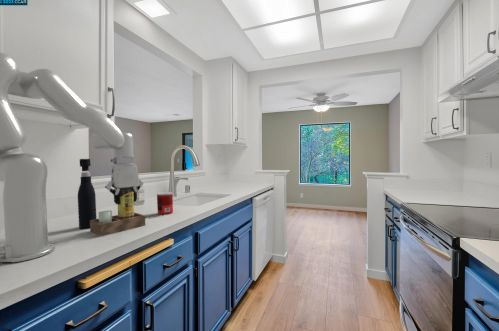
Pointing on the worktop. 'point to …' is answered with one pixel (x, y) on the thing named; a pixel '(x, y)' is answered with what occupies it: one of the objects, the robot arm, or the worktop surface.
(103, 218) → the pale green rounded block
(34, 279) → the worktop surface
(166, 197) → the canned food
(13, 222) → the robot arm
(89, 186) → the black water bottle
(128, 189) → the sauce bottle
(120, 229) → the walnut caddy
